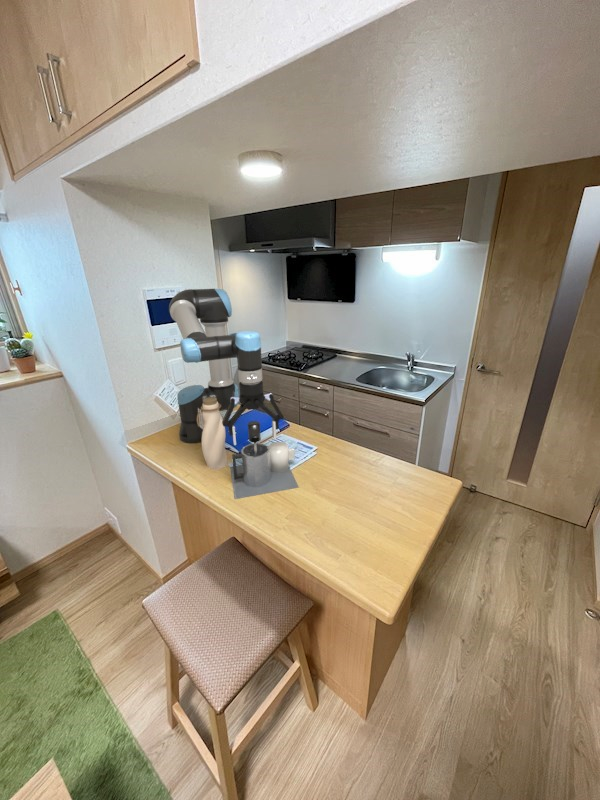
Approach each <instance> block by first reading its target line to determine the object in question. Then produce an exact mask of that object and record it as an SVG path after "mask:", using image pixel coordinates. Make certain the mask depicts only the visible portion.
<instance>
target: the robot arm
mask: <svg viewBox="0 0 600 800" xmlns="http://www.w3.org/2000/svg"><path fill="white" fill-rule="evenodd" d="M168 312H169V315H170V317H171V319H172V320H173V321H174V322H176V325H177V327H178V329H179V332H180V334H181V336H182V339H181V340H180V341H179V343H180V347H179V348H180V352H181V356H182V360H183V362H184V363H188V364H189V363H190V364H191V363H197V364H198V363H200V362H201V363H202V362H208V367H209V375H210V377H209V378H210V380H209V381H208V383H207V387H204V386H203V385H201V384H193V385H189V386H186V387H183V388H182V389H180V390H179V391H178V392H177V396H176V397H177V405H178V410H179V417H180V427H179V432H178V437H179V440H180V441H181V442H183V443H186V444H187V443H188V444H196V443H200V442H201V443H202V432H203V429H202V428H201V427H198V424H197V414H198V408H199V409H201V406H202V405H203V399H205V398H208V397H215V398H217V402H218V403H219V404H221V408H219V412H221V411H226V412H225V414H224V416H223V418H222V419H223V421H222V423H223V426H225V427H227V428H228V434H229V436H232V441H233V446H237V439H236V427H235V423H236V422H237V421H238V420H239V418H240V417H241V416H242V414H243V413H244V412H246V410H248V411H252V410H258V409H260V408H261V409H262V411H264V412H265V413H267V415H269V416H270V418H272V419H271V430H272V433H271V434H272V438H273V440H277V431H276V430H279V428H280V427H279V425H280V424H279V422H280V420H283V419H284V415H283V413H282V412H281V410H280V409H279V407H278V405H277V404H276V401H275V398H274V395H273V393H272V392H268V393H267V394H264V382H263V364H262V362H263V361H262V342H261V335H260V333H259V332H257V331H252V330H251V331H250V330H246V331H240V332H231V333H229V334H227V331H226V325H227V324H228V323H229V318H230V317H232V315H233V313H232V312H233V309H232V304H231V301H230V297H229V295H228V293H227V291H226V290H224V289H222V288H199V289H197V288H195V289H192V288H191V289H189V288H188V289H183V290H182V291H180V292H178V293H177V294H175V295H174V296H173V297H172V299H171V300H170V303H169V305H168ZM203 327H204V328H203ZM233 358H235V359H236V360H237V361H236V362H237V371H238V372H237V374H238V375H237V376H238V381H239V383H238V385H239V386H238V385H237V384H236V383H234V382H235V381H234V380H233V379H232V378H231V376H230V366H229V365H230V364H229V359H233ZM265 400H267V401H269V402H270V404H271V405H272V406H273V408H274V410H275V412H276V413H277V415H276V414H275V412H273V411H272V410H271V409H270V408H269V407H268V406H267V405H266V404H265V403H264V401H265ZM239 403H240V405H239ZM238 405H239V406H238ZM237 406H238V409H237V410H235V412H234V414H233V415H232V413H233V411H234V409H235V408H237ZM202 409H203V408H202ZM199 411H200V410H199ZM201 413H202V411H201ZM231 416H232V417H231ZM198 421H199V417H198ZM199 425H200V424H199Z"/></svg>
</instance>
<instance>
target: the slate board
mask: <svg viewBox="0 0 600 800" xmlns="http://www.w3.org/2000/svg"><path fill="white" fill-rule="evenodd" d="M229 468H230V469H229V470H230V477H231V483H232V484H231V485H232V491H233V499H234V500H238V499H243V498H244V499H245V498H250V497H256V496H260V495H266V494H272V493H277V492H282V491H287V490H292V489H298V488H300V487H299V485H298V482H297V480H296V477H295V476H294V474H293V471H292V469H291V467H290V466H289V469H288V470H287V471H286V472H284V473H273V472H271V480H270V482H269V483H268V484H266V485H265V486H262V487H249V486H248V485H246V484H245V483H244V478H240V479H236V480H235V479H234V471H233V465H232V466H229ZM236 469H237V474H240V473H243V465H242V464H240V465H239V464H238V465H236Z"/></svg>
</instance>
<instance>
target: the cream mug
mask: <svg viewBox="0 0 600 800" xmlns="http://www.w3.org/2000/svg"><path fill="white" fill-rule="evenodd" d="M268 446H269V449H270V462H271V472H273V473H284V472H286V471H287V470H288V469H289V467H290V462H289V461H291V460H295V459H296V454H295V453H296V451H295V448H289V445H288V444H287V443H286V442H282V441H276V442H272V443H270V444H269V445H268Z"/></svg>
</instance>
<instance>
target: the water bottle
mask: <svg viewBox="0 0 600 800" xmlns="http://www.w3.org/2000/svg"><path fill="white" fill-rule="evenodd" d="M202 408H203V409H202ZM219 408H221V404H219V403H218V402H217V398H215V397H208V398H205V399H203V405H202V406H201V409H199V408H198V414H197V424H198V427H201V428H202V429H203V432H202V442H201V450H202V455H203V458H204V460H205V463H206V466H207V468H208V469H210V470H213V471H214V470H216V471H217V470H220V469H223V468H225V467H226V466H227V465H228V454H227V451H226V446H225V444H226V437H227V436H226V435H227V434H226V426H223V423H222V421H223V419H224V418H223V417H222V414H221V411H219ZM199 410H200V411H199ZM201 411H202V413H201ZM198 417H199V421H198ZM199 424H200V425H199Z"/></svg>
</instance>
